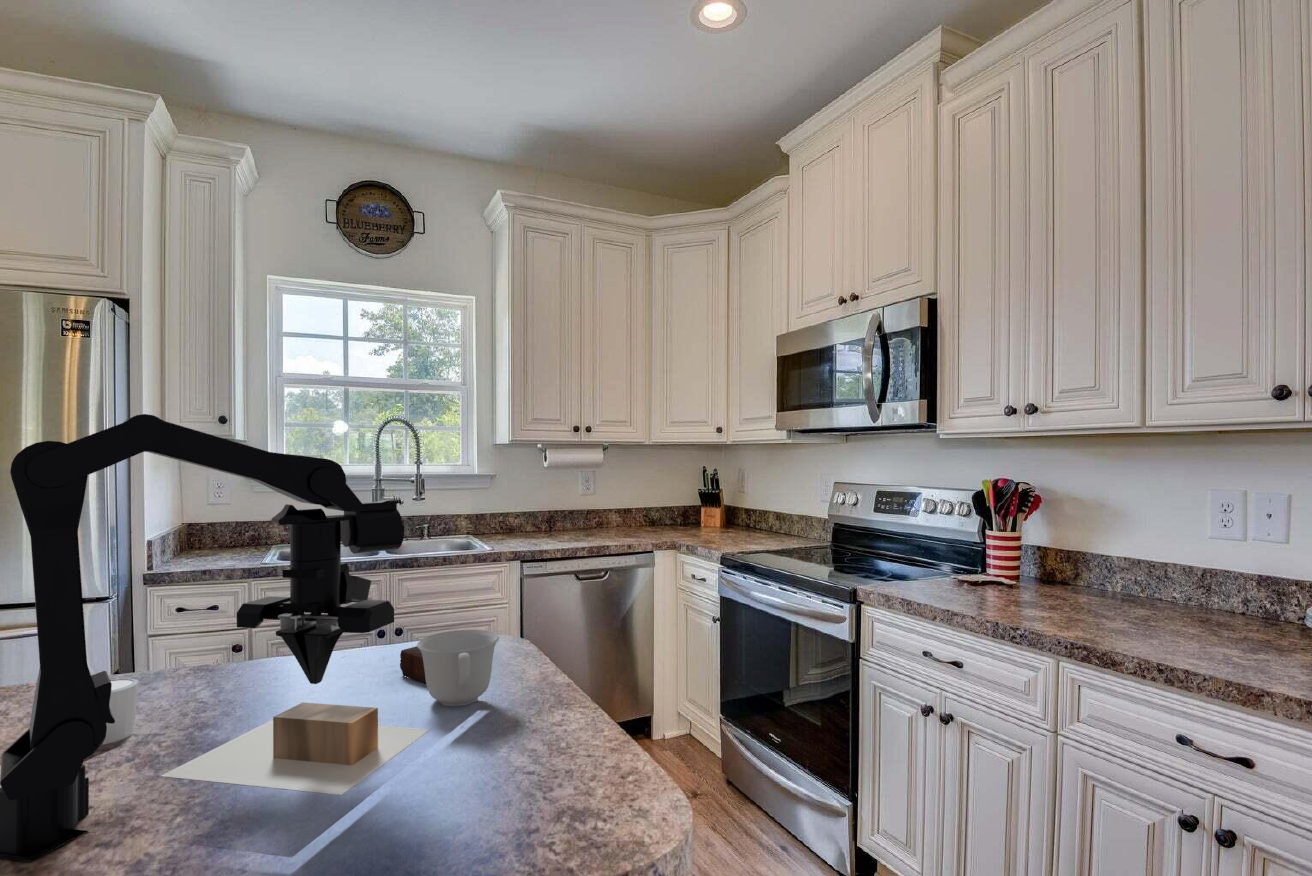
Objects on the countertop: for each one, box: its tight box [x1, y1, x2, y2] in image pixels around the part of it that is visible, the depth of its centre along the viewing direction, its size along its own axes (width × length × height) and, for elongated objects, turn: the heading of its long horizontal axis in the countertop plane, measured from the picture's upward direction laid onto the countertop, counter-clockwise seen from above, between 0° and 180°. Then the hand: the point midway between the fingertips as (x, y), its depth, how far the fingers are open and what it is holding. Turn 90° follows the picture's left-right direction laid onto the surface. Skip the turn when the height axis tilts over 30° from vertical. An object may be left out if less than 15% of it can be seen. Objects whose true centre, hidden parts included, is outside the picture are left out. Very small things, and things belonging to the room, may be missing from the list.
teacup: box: [416, 629, 500, 707], centre depth 102 cm, size 12×15×10 cm
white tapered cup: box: [101, 678, 140, 746], centre depth 93 cm, size 7×7×7 cm
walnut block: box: [272, 702, 379, 765], centre depth 85 cm, size 5×5×11 cm
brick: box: [399, 645, 427, 686], centre depth 116 cm, size 11×4×5 cm, turn 51°
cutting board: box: [160, 719, 431, 796], centre depth 85 cm, size 18×24×1 cm
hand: (316, 682), depth 85 cm, fingers closed
